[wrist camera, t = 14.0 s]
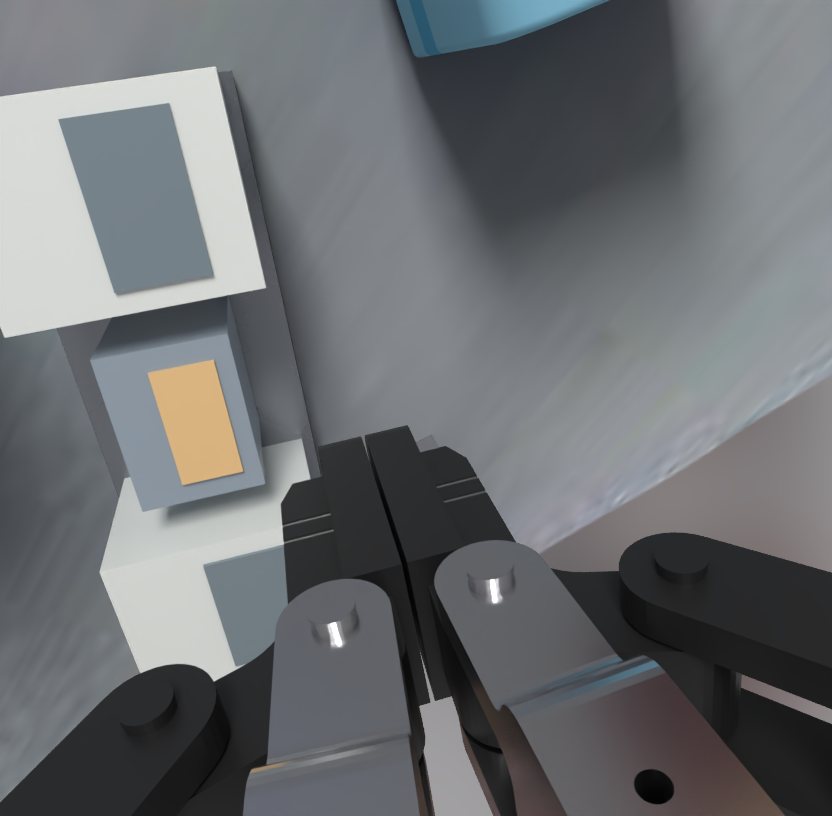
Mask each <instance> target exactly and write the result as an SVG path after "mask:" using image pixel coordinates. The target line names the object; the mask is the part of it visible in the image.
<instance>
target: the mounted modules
mask: <svg viewBox="0 0 832 816" xmlns="http://www.w3.org/2000/svg"><path fill="white" fill-rule="evenodd" d="M263 288H266V285H265V280H264V275H263V270H262V264H261V259H260V254H259V249H258V245H257V240H256V236H255V231H254V227H253V223H252V218H251V214H250V210H249V205H248V201H247V196H246V192H245V188H244V183H243V179H242V174H241V170H240V166H239V161H238V157H237V152H236V148H235V144H234V139H233V135H232V131H231V126H230V122H229V117H228V113H227V109H226V104H225V100H224V95H223V91H222V87H221V82H220V78H219V73H218V71H217V69H216V67H209V68H202V69H194V70H187V71H180V72H173V73H166V74H159V75H152V76H145V77H137V78H130V79H123V80H116V81H109V82H102V83H95V84H87V85H80V86H73V87H66V88H59V89H52V90H45V91H37V92H30V93H23V94H16V95H9V96H2V97H0V328H1V330H2V332H3V335H4V337H5V338H7V337H12V336H17V335H23V334H28V333H33V332H38V331H43V330H49V329H54V328H59V327H64V326H70V325H75V324H80V323H85V322H91V321H96V320H101V319H106V318H112V317H117V316H122V315H127V314H132V313H138V312H143V311H148V310H153V309H159V308H164V307H169V306H174V305H180V304H185V303H190V302H195V301H200V300H206V299H211V298H216V297H221V296H227V295H232V294H237V293H242V292H248V291H253V290H258V289H263ZM262 453H263V464H264V474H265V484H263V485H259V486H255V487H250V488H246V489H241V490H237V491H233V492H228V493H224V494H220V495H215V496H211V497H207V498H202V499H198V500H193V501H189V502H185V503H180V504H176V505H172V506H167V507H163V508H159V509H154V510H150V511H145V512H142V509H141V506H140V503H139V500H138V497H137V495H136V492H135V489H134V486H133V483H132V480H131V477H129V478H124V482H123V486H122V490H121V493H120V497H119V501H118V505H117V508H116V512H115V516H114V520H113V523H112V527H111V531H110V535H109V538H108V542H107V546H106V550H105V554H104V557H103V561H102V565H101V569H100V575H101V577H102V580H103V582H104V585H105V587H106V590H107V592H108V595H109V597H110V599H111V602H112V604H113V607H114V609H115V612H116V614H117V617H118V619H119V622H120V624H121V627H122V629H123V632H124V634H125V637H126V639H127V642H128V644H129V646H130V649H131V651H132V654H133V656H134V659H135V661H136V664H137V666H138V669H139V671H140V673H142V672H145V671H147V670H150V669H153V668H156V667H160V666H164V665H171V664H188V665H193V666H196V667H199V668H201V669H203V670H204V671H205V672H207V673H208V674H209V675H210V677H211V678H212V679H213V681H216V680H218V679H220V678H221V677H223V676H225V675H227V674H229V673H231V672H233V671H235V670H236V669H238V668H240V667H242V666H244V665H245V664H247V663H249V662H250V661H252V660H254V659H255V658H256V657H258V656H259V655H260V654H262V653H263V652H264V651H265V650H266V649H267V648H268V647H269V646H270V645H271V644H272V643H273V642H274V641H275V630H276V624H277V621H278V619H279V616H280V615H281V613H282V612H283V610H284V609H285V607H286V606H287V605H288V599H287V585H286V571H285V557H284V541H283V530H282V528H283V526H282V516H281V502H282V501H283V499H284V497H285V496H286V494H287V492H288V490H289V489H290V487H291V485H292V484H293V483H297V482H301V481H305V480H309V479H311V477H310V473H309V468H308V464H307V460H306V455H305V451H304V447H303V442H302V438H301V439H297V440H292V441H288V442H283V443H279V444H274V445H270V446H266V447H262Z"/></svg>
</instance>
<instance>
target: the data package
mask: <svg viewBox="0 0 832 816" xmlns="http://www.w3.org/2000/svg"><path fill="white" fill-rule="evenodd" d="M607 1H610V0H396V2H397V5H398V8H399V11H400V14H401V17H402V20H403V24H404V27H405V30H406V33H407V36H408V39H409V42H410V45H411V48H412V51H413V54H414V55H415V56H416V57H426V56H432V55H437V54H443V53H449V52H454V51H460V50H466V49H471V48H477V47H482V46H488V45H494V44H498V43H502V42H505V41H508V40H512V39H515V38H517V37H520V36H523V35H526V34H529V33H531V32H534V31H537V30H539V29H542V28H544V27H547V26H550V25H552V24H555V23H557V22H559V21H562V20H564V19H567V18H569V17H571V16H574V15H576V14H578V13H581V12H583V11H586V10H588V9H590V8H593V7H595V6H598V5H600V4H602V3H605V2H607Z"/></svg>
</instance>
